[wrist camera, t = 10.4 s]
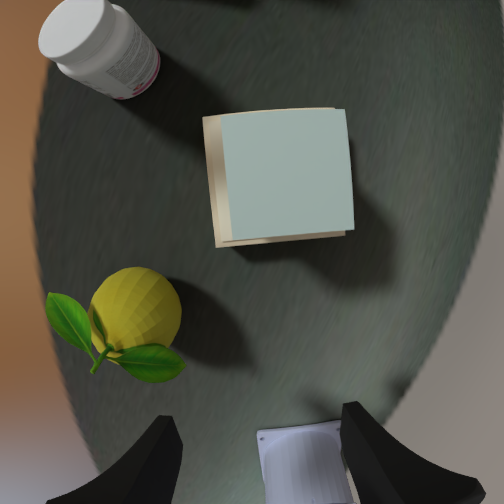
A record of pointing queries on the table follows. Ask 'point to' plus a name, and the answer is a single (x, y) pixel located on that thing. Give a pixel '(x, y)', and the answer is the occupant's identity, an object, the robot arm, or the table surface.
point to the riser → (221, 193)
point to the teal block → (287, 172)
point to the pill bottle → (100, 47)
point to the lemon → (125, 323)
